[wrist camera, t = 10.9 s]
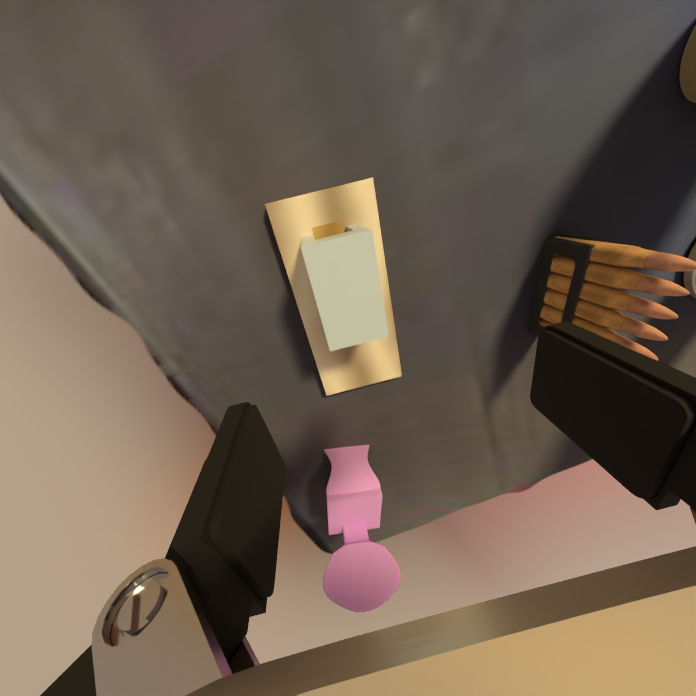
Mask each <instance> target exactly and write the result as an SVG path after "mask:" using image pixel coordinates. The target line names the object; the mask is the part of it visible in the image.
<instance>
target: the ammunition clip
mask: <svg viewBox="0 0 696 696" xmlns="http://www.w3.org/2000/svg"><path fill="white" fill-rule="evenodd" d="M607 264H608V265H607ZM612 265H614V266H612ZM617 266H619V267H617ZM622 267H637V268H644V269H653V270H661V271H693V270H696V262H695V261H693V260H690V259H688V258H685V257H682V256H678V255H674V254H669V253H662V252H657V251H652V250H647V249H644V248H641V247H638V246H632V245H624V244H616V243H611V242H608V241H602V240H596V239H590V238H584V237H579V236H573V235H567V234H561V235H555V236H549V237H547V238H546V241H545V246H544V252H543V257H542V262H541V267H540V272H539V278H538V283H537V288H536V293H535V298H534V303H533V309H532V314H531V319H530V324H529V329H528V331H529V332H531V333H533V334H535V335H537V336H539V334H540V333H541V332H542V330H543V328H544V327H546V326H548V325H552V324H556V323H560V322H565V321H567V322H570V323H573V324H575V325H577V326H579V327H582V328H584V329H586V330H588V331H591V332H593V333H595V334H597V335H600V336H602V337H604V338H607V339H609V340H611V341H613V342H616V343H618V344H620V345H622V346H625V347H627V348H629V349H631V350H634V351H636V352H638V353H640V354H643V355H645V356H647V357H650V358H652V359H654V360H656V361H658V358H657V356H656V355H655V354H653V353H652V352H651V351H650V350H648V349H647V348H645V347H643V346H642V345H640V344H638V343H636V342H634V341H631V340H629V339H627V338H625V337H623V336H621V335H619V334H617V333H615V332H614V331H612V330H611V329H609V328H613V329H616V330H619V331H622V332H626V333H628V334H631V335H634V336H637V337H641V338H645V339H651V340H658V341H666V340H668V337H667V336H666V335H665V334H663V333H662V332H661V331H659V330H658V329H656V328H654V327H652V326H650V325H648V324H646V323H644V322H641V321H639V320H636V319H633V318H631V317H629V316H626V315H624V314H622V313H620V312H619V311H617V310H615V309H620V310H623V311H627V312H632V313H635V314H638V315H642V316H647V317H652V318H658V319H677V318H678V315H677V314H676V313H674V312H673V311H672V310H670V309H668V308H666V307H664V306H662V305H660V304H657V303H655V302H652V301H649V300H646V299H642V298H640V297H637V296H634V295H631V294H629V293H627V292H625V291H623V290H620V289H629V290H633V291H640V292H644V293H649V294H655V295H663V296H686V295H689V294H690V292H689V291H688V290H686V289H685V288H683V287H681V286H679V285H677V284H675V283H673V282H670V281H667V280H664V279H661V278H657V277H652V276H649V275H645V274H641V273H637V272H635V271H633V270H630V269H627V268H622ZM617 288H618V289H617ZM607 327H608V328H607Z"/></svg>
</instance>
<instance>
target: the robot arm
mask: <svg viewBox="0 0 696 696" xmlns="http://www.w3.org/2000/svg"><path fill="white" fill-rule="evenodd" d="M688 259H690V260H693V261H695V262H696V243H695V244H694V246H693V248H692V250H691V252H690V254H689V256H688ZM683 281H684V286H685V289H686V290H688V291H689V292H690V294H689V295H691V296H692V297H693V298H696V270H693V271H684V278H683ZM530 399H531V402H532V404H533V406H534V407H535V408H536V409H537V410H539V411H540V412H541V413H542V414H543V415H544V416H545V417H546V418H548V419H549V420H550V421H551V422H552V423H553V424H554V425H555V426H557V427H558V428H559V429H560V430H561V431H562V432H563V433H564V434H566V435H567V436H568V437H569V438H570V439H571V440H572V441H573V442H575V443H576V444H577V445H578V446H579V447H580V448H581V449H582V450H584V451H585V452H586V453H587V454H588V455H589V456H590V457H591V458H593V459H594V460H595V461H596V462H597V463H598V464H599V465H600V466H602V467H603V468H604V469H605V470H606V471H607V472H608V473H609V474H611V475H612V476H613V477H614V478H615V479H616V480H617V481H618V482H620V483H621V484H622V485H623V486H624V487H625V488H626V489H628V490H629V491H630V492H631V493H632V494H634V495H635V496H637V497H639V498H643V499H644V500H645V501H646V502H648V503H649V504H650V505H651V506H652V507H653V508H654V509H656V510H659V509H663V508H667V507H671V506H675V505H677V504H678V503H679V501H680V499H682V500H683V501H684V502H686V503H687V504H688V505H689V506H690V509H691V512H692V514H693V517H694V520H695V523H696V378H695V377H692V376H690V375H688V374H686V373H683V372H681V371H679V370H677V369H674V368H672V367H670V366H668V365H665V364H663V363H661V362H659V361H656V360H654V359H652V358H650V357H647V356H645V355H643V354H640V353H638V352H636V351H634V350H631V349H629V348H627V347H625V346H622V345H620V344H618V343H616V342H613V341H611V340H609V339H607V338H604V337H602V336H600V335H597V334H595V333H593V332H591V331H588V330H586V329H584V328H582V327H579V326H577V325H575V324H573V323H570V322H567V321H565V322H560V323H556V324H552V325H548V326H546V327H544V328H543V330H542V332H541V333H540V334H539V336H538V342H537V350H536V357H535V365H534V372H533V379H532V387H531V394H530ZM284 476H285V465H284V461H283V459H282V457H281V455H280V453H279V451H278V449H277V447H276V444H275V442H274V440H273V438H272V436H271V434H270V432H269V430H268V428H267V426H266V424H265V422H264V420H263V418H262V416H261V414H260V412H259V410H258V408H257V406H256V405H251V404H250V403H249V402H245V403H241V404H237V405H233V406H230V407H228V409H227V411H226V413H225V416H224V418H223V421H222V423H221V426H220V428H219V431H218V433H217V436H216V438H215V440H214V443H213V445H212V448H211V451H210V453H209V455H208V457H207V459H206V461H205V462H204V465H203V467H202V470H201V472H200V474H199V477H198V479H197V482H196V484H195V487H194V489H193V491H192V494H191V496H190V499H189V502H188V504H187V506H186V509H185V511H184V513H183V516H182V518H181V521H180V523H179V525H178V528H177V530H176V533H175V535H174V538H173V540H172V542H171V545H170V547H169V550H168V552H167V555H166V557H165V559H164V558H163V559H157V560H153V561H151V562H149V563H147V564H145V565H143V566H141V567H140V568H139V569H137V570H136V571H134V572H133V573H132V574H131V575H129V576H128V577H127V578H126V579H125V580H124V581H123V582H122V583H121V584H120V585H119V586H118V587H117V589H116V590H115V591H114V593H113V594H112V595H111V597H110V598H109V599H108V600H107V602H106V604H105V605H104V607H103V609H102V611H101V613H100V614H99V616H98V619H97V622H96V624H95V627H94V630H93V634H92V645H91V646H90V647H89V648H88V649H87V650H86V651H85V652H84V653H83V654H82V655H81V656H80V657H79V658H78V659H77V660H76V661H75V662H74V663H73V664H72V665H71V666H70V667H69V668H68V669H67V670H66V671H65V672H64V673H63V674H62V675H61V676H59V677H58V679H57V680H56V681H55V682H54V683H52V685H50V686H49V687H48V688H47V690H45V691H44V692H43V694H41V695H40V696H696V547H691V548H688V549H684V550H680V551H676V552H672V553H669V554H664V555H660V556H657V557H653V558H649V559H645V560H642V561H637V562H634V563H629V564H626V565H622V566H618V567H615V568H610V569H607V570H603V571H599V572H596V573H591V574H588V575H584V576H580V577H576V578H573V579H569V580H565V581H561V582H557V583H554V584H550V585H546V586H543V587H538V588H535V589H531V590H527V591H524V592H519V593H516V594H512V595H508V596H505V597H501V598H497V599H493V600H489V601H485V602H482V603H478V604H474V605H470V606H467V607H463V608H460V609H456V610H452V611H448V612H444V613H441V614H437V615H434V616H430V617H426V618H422V619H419V620H415V621H411V622H407V623H404V624H400V625H397V626H393V627H389V628H385V629H382V630H378V631H374V632H370V633H367V634H363V635H359V636H355V637H352V638H348V639H344V640H341V641H338V642H334V643H331V644H327V645H324V646H321V647H317V648H314V649H310V650H307V651H304V652H300V653H297V654H293V655H290V656H287V657H283V658H280V659H276V660H273V661H269V662H266V663H263V664H260V663H259V662H258V660H257V658H256V656H255V654H254V652H253V650H252V648H251V646H250V644H249V642H248V640H247V638H246V637H245V635H246V634H247V630H248V623H249V617H251V616H254V615H258V614H262V613H265V612H266V603H267V597H270V596H271V595H272V593H273V590H274V582H275V573H276V562H277V550H278V540H279V530H280V519H281V508H282V498H283V487H284Z"/></svg>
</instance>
